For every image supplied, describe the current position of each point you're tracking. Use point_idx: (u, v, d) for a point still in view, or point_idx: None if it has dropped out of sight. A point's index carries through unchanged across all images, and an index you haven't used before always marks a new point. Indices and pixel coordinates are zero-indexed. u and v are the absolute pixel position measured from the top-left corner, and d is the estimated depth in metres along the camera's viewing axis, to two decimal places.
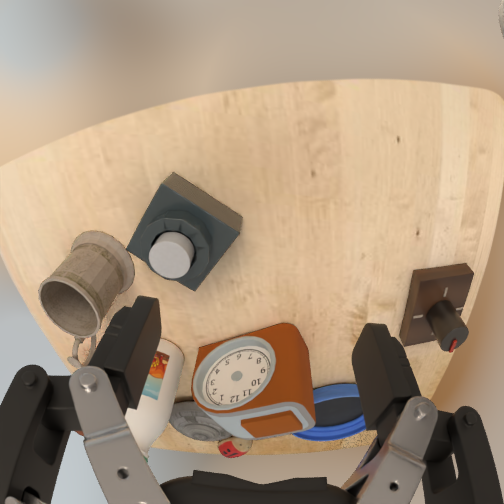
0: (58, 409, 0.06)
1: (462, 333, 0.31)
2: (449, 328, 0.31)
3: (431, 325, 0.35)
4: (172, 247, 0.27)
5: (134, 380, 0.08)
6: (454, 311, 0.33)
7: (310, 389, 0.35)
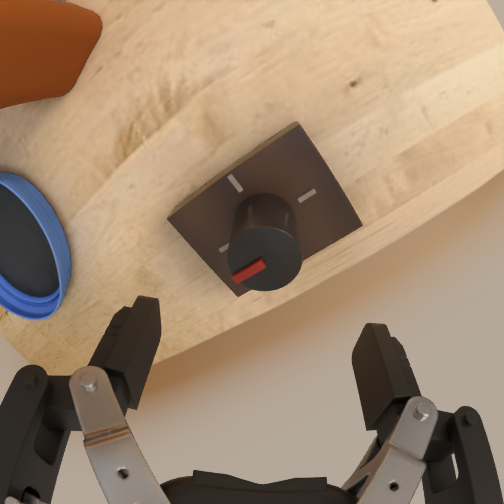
0: (58, 409, 0.06)
1: (285, 264, 0.18)
2: (278, 224, 0.17)
3: (243, 210, 0.20)
4: None
5: (134, 380, 0.08)
6: None
7: (13, 77, 0.12)
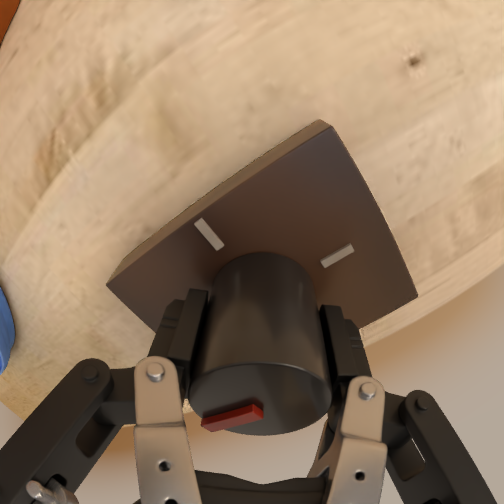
0: (121, 402, 0.07)
1: (300, 410, 0.08)
2: (291, 349, 0.08)
3: (221, 292, 0.11)
4: None
5: None
6: None
7: None
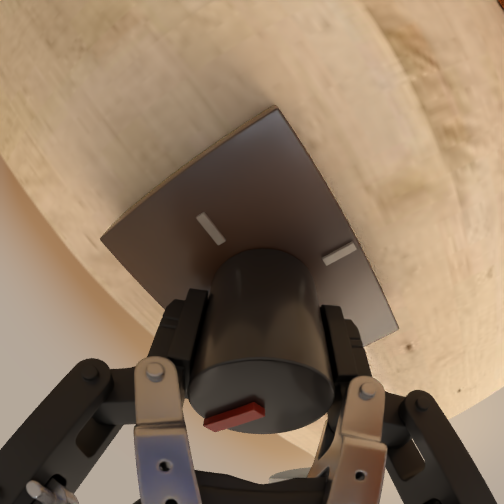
0: (121, 402, 0.07)
1: (303, 407, 0.08)
2: (288, 344, 0.08)
3: (219, 291, 0.11)
4: None
5: None
6: (321, 319, 0.10)
7: None
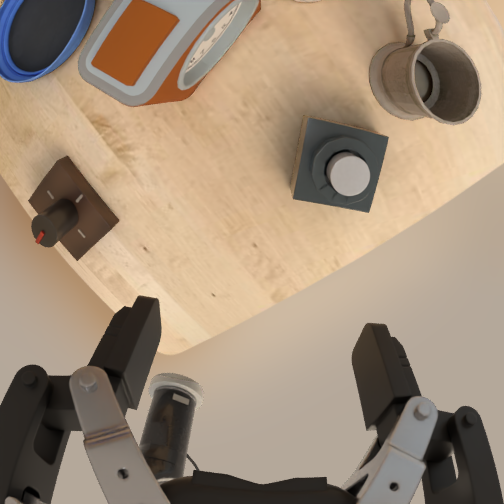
0: (58, 409, 0.06)
1: (51, 232, 0.31)
2: (45, 213, 0.30)
3: None
4: (350, 191, 0.28)
5: (134, 380, 0.08)
6: (66, 215, 0.33)
7: None
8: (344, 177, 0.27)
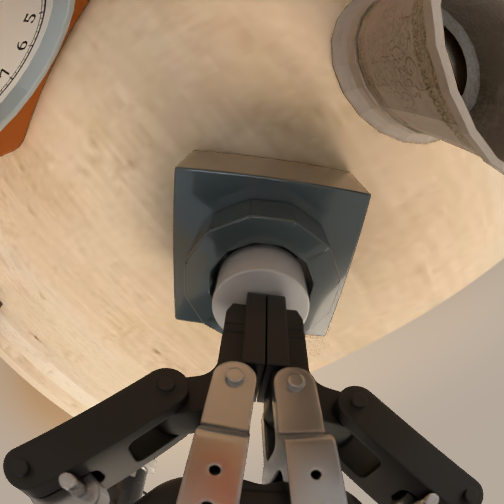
0: (200, 411, 0.07)
1: None
2: None
3: None
4: None
5: None
6: None
7: None
8: None
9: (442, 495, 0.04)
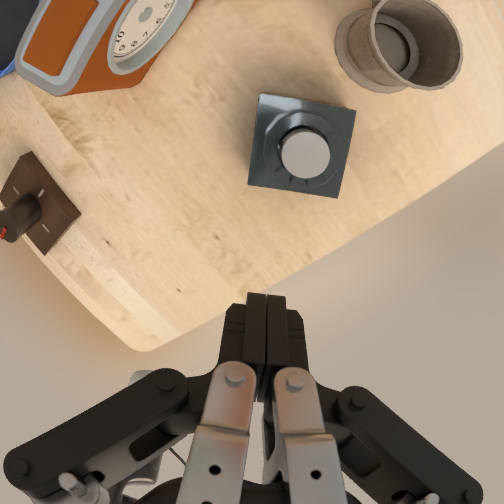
0: (200, 411, 0.07)
1: (12, 227, 0.28)
2: (7, 209, 0.28)
3: None
4: (307, 172, 0.24)
5: None
6: (28, 210, 0.30)
7: None
8: (298, 156, 0.24)
9: (442, 495, 0.04)
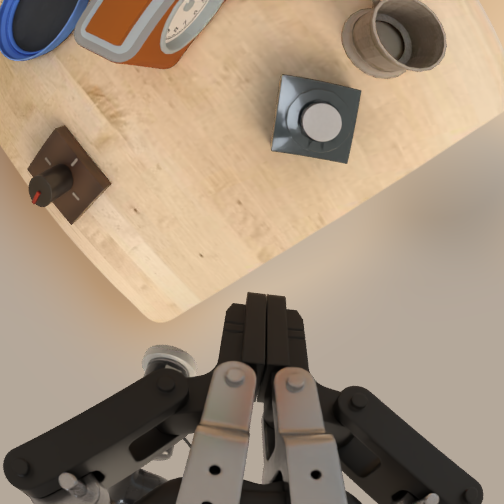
0: (200, 411, 0.07)
1: (46, 191, 0.32)
2: (42, 174, 0.31)
3: None
4: (323, 136, 0.29)
5: None
6: (62, 177, 0.34)
7: None
8: (316, 123, 0.28)
9: (442, 495, 0.04)
